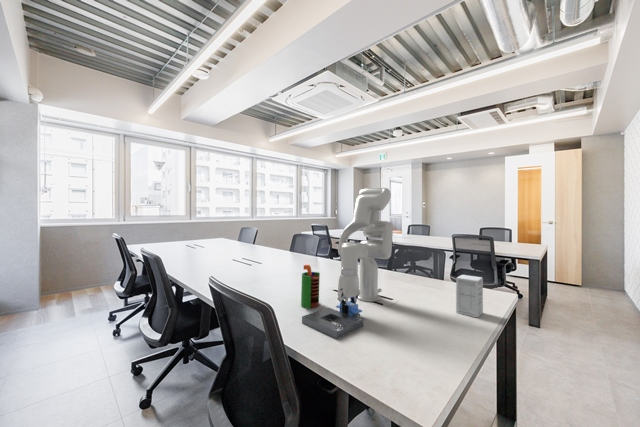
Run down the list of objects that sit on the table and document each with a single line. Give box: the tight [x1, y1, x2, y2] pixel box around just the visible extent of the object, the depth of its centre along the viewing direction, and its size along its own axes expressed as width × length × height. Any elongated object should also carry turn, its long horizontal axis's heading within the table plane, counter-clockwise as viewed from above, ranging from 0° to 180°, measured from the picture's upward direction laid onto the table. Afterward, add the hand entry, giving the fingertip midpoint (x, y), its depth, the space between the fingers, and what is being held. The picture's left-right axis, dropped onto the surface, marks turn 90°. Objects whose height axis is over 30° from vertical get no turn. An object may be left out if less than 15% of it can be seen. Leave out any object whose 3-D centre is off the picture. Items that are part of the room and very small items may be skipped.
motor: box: [300, 264, 321, 309], centre depth 138 cm, size 10×9×20 cm
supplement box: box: [455, 274, 484, 318], centre depth 130 cm, size 10×9×17 cm
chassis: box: [301, 307, 364, 340], centre depth 115 cm, size 16×20×3 cm
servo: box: [335, 300, 363, 319], centre depth 125 cm, size 4×12×6 cm, turn 44°
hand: (348, 311), depth 125 cm, fingers closed on servo, 4 cm apart
